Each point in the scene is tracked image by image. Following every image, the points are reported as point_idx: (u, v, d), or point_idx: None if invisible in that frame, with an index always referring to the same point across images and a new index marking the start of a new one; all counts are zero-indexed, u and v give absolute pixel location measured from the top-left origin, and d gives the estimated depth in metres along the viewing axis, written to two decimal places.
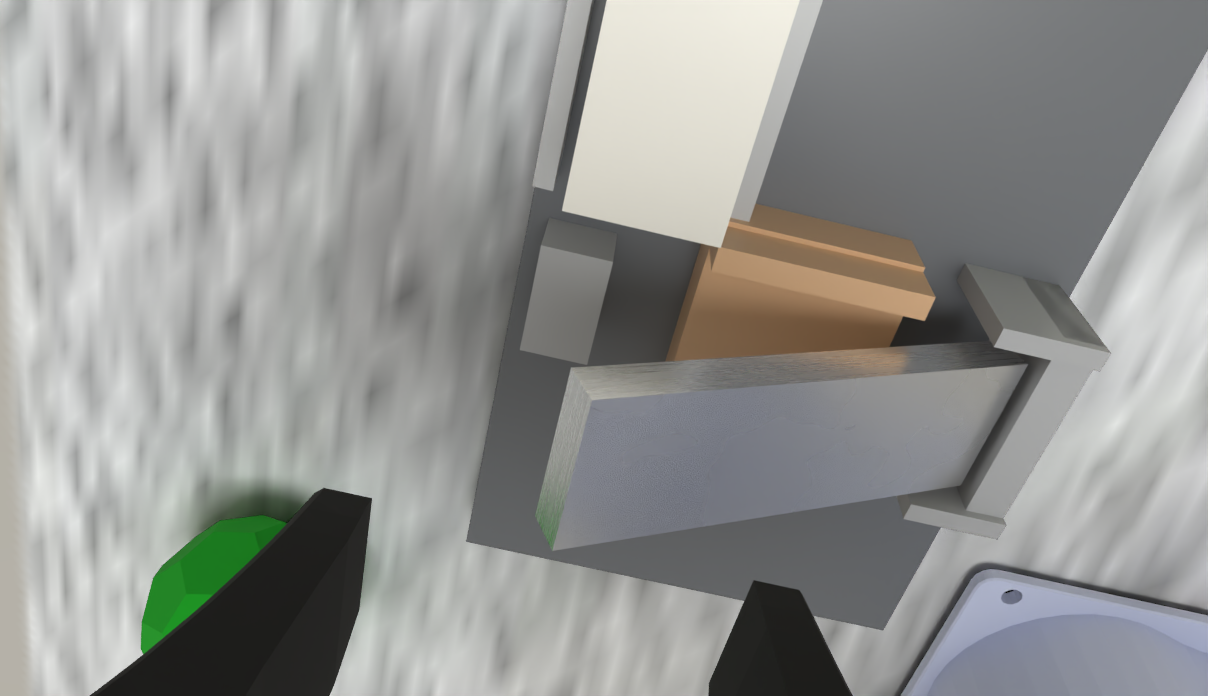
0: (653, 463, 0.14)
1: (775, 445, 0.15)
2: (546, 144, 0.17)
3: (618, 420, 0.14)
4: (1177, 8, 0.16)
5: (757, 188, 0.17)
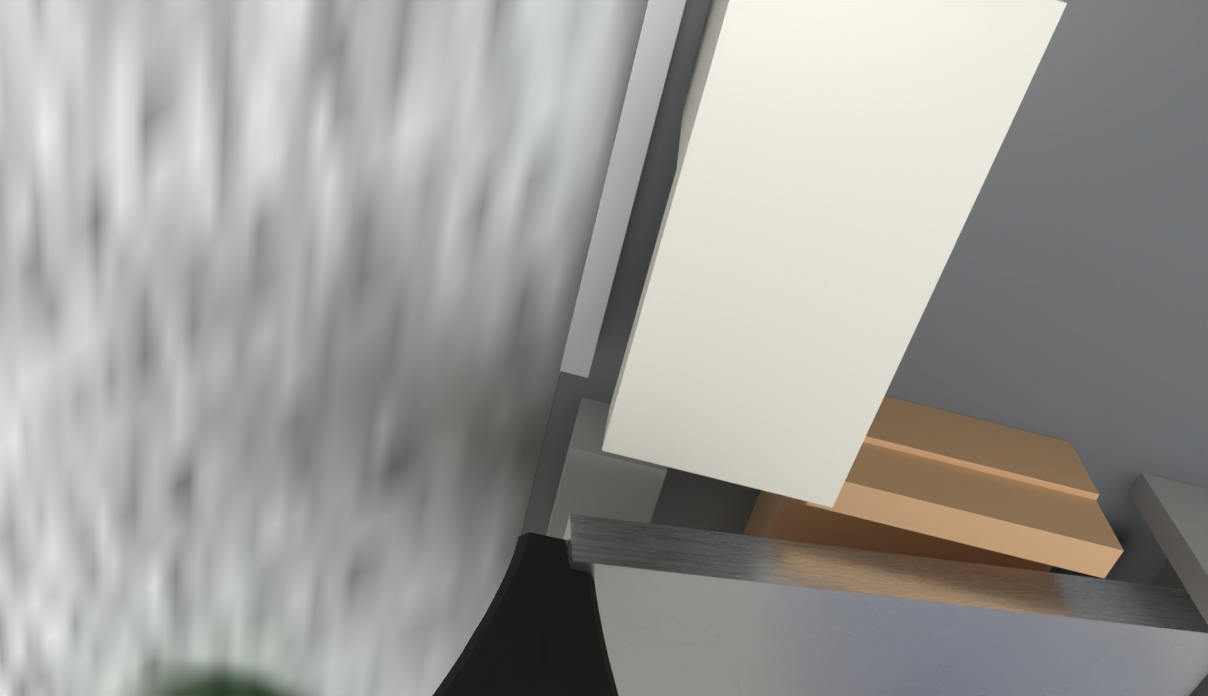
0: (659, 651, 0.12)
1: (834, 664, 0.12)
2: (580, 320, 0.12)
3: (609, 592, 0.11)
4: None
5: None
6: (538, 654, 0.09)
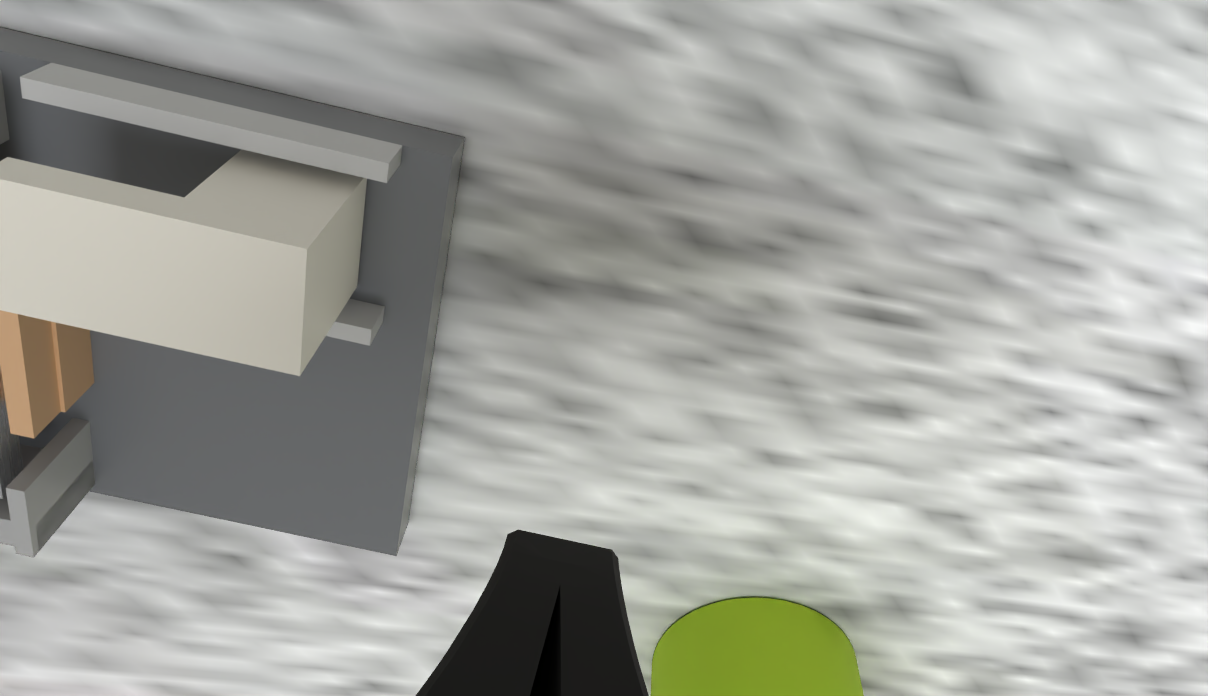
0: None
1: None
2: (67, 94, 0.17)
3: None
4: (307, 512, 0.23)
5: None
6: (569, 661, 0.09)
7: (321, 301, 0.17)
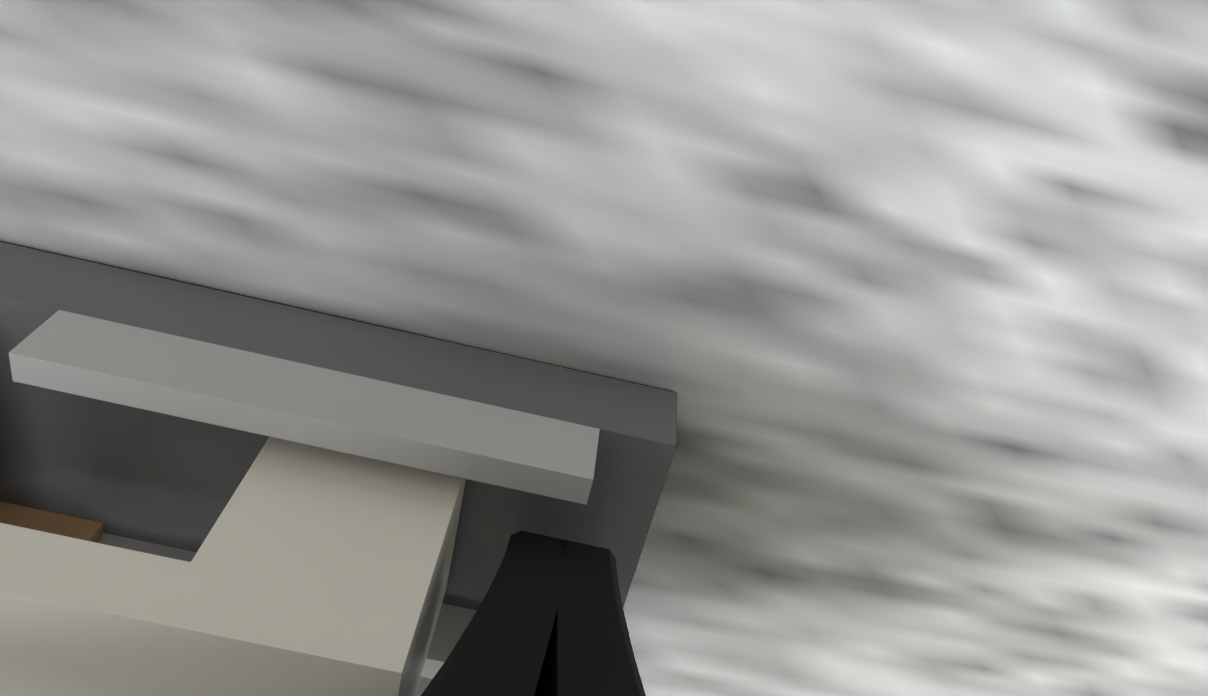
0: None
1: None
2: (84, 379, 0.11)
3: None
4: None
5: None
6: (566, 660, 0.09)
7: (410, 689, 0.11)
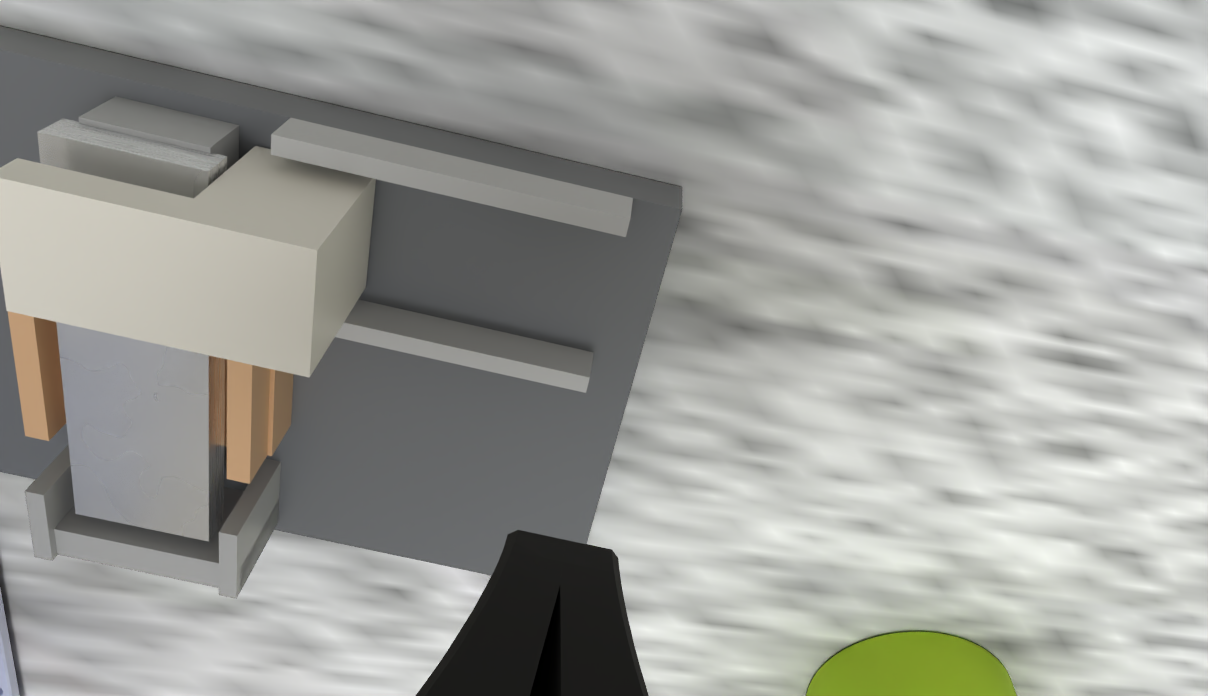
0: None
1: None
2: (317, 152, 0.17)
3: (184, 194, 0.17)
4: (488, 550, 0.24)
5: None
6: (569, 661, 0.09)
7: (330, 302, 0.17)
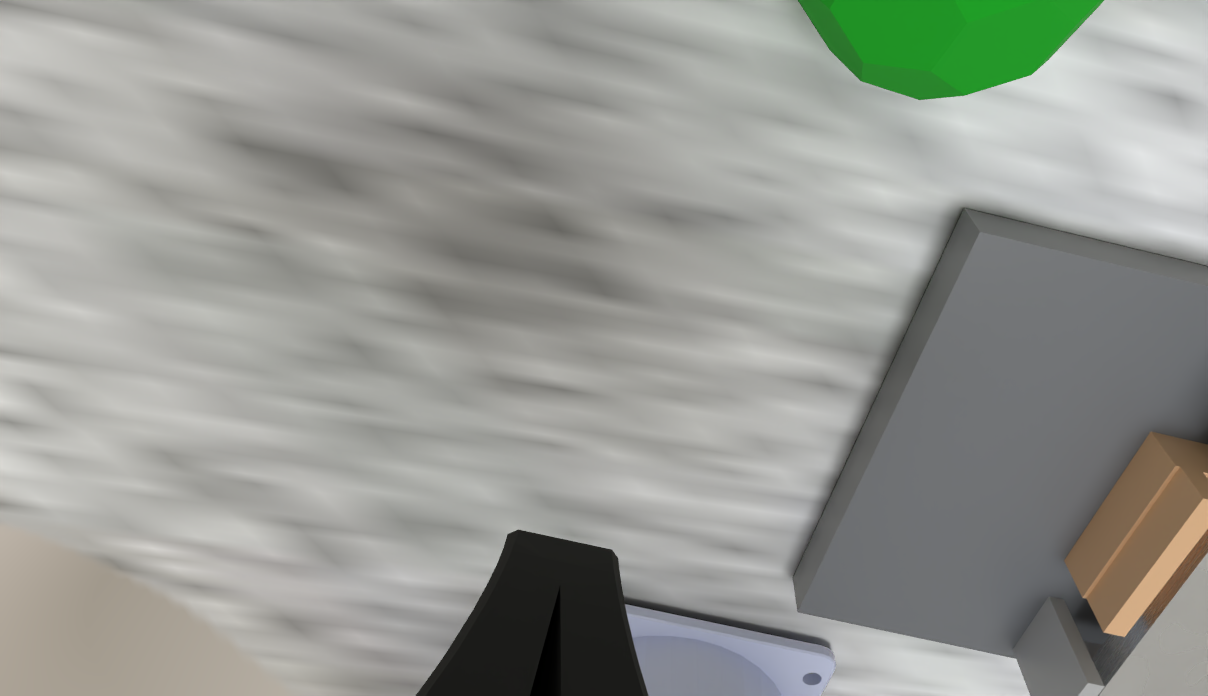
0: None
1: None
2: None
3: None
4: None
5: None
6: (569, 661, 0.09)
7: None
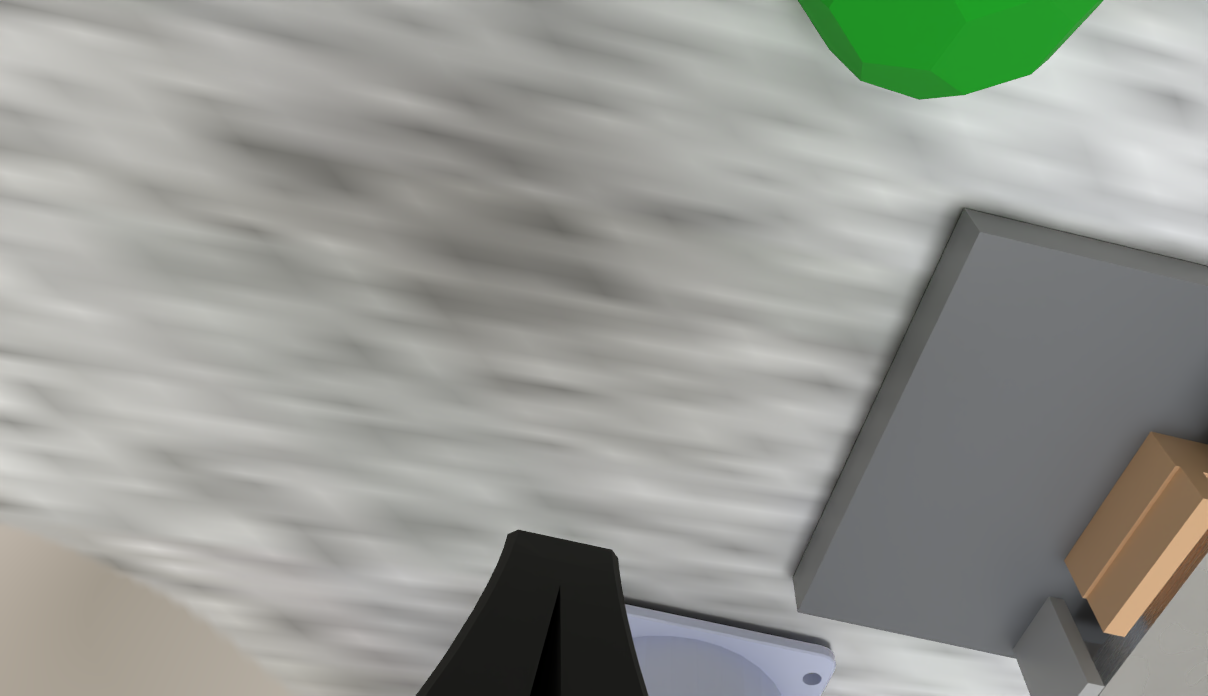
0: None
1: None
2: None
3: None
4: None
5: None
6: (569, 661, 0.09)
7: None
